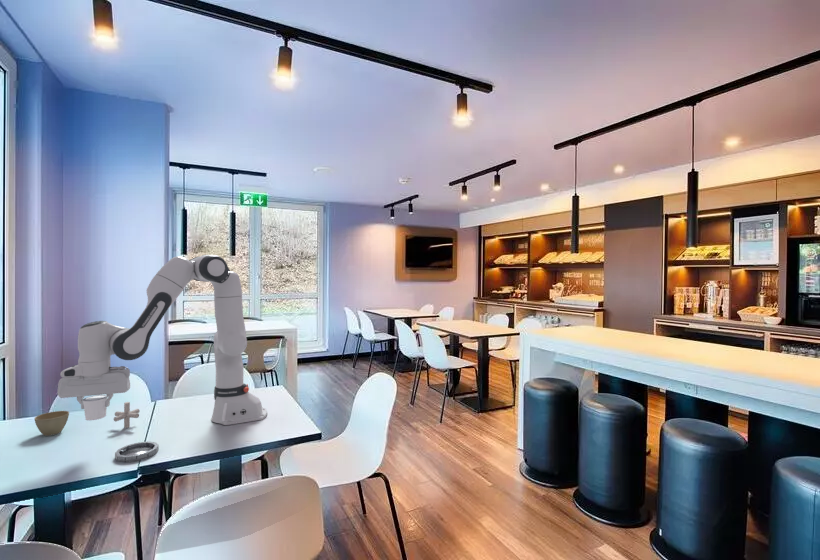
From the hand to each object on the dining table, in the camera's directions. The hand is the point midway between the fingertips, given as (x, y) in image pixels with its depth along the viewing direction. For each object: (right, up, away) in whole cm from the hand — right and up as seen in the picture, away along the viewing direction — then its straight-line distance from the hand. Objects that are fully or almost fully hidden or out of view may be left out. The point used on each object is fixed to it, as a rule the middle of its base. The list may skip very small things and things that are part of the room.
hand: (95, 407), depth 139 cm
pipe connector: (-5, -15, +22) cm, 27 cm away
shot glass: (0, -4, 0) cm, 4 cm away
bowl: (+16, -16, -2) cm, 22 cm away
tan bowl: (-29, -15, +15) cm, 36 cm away
